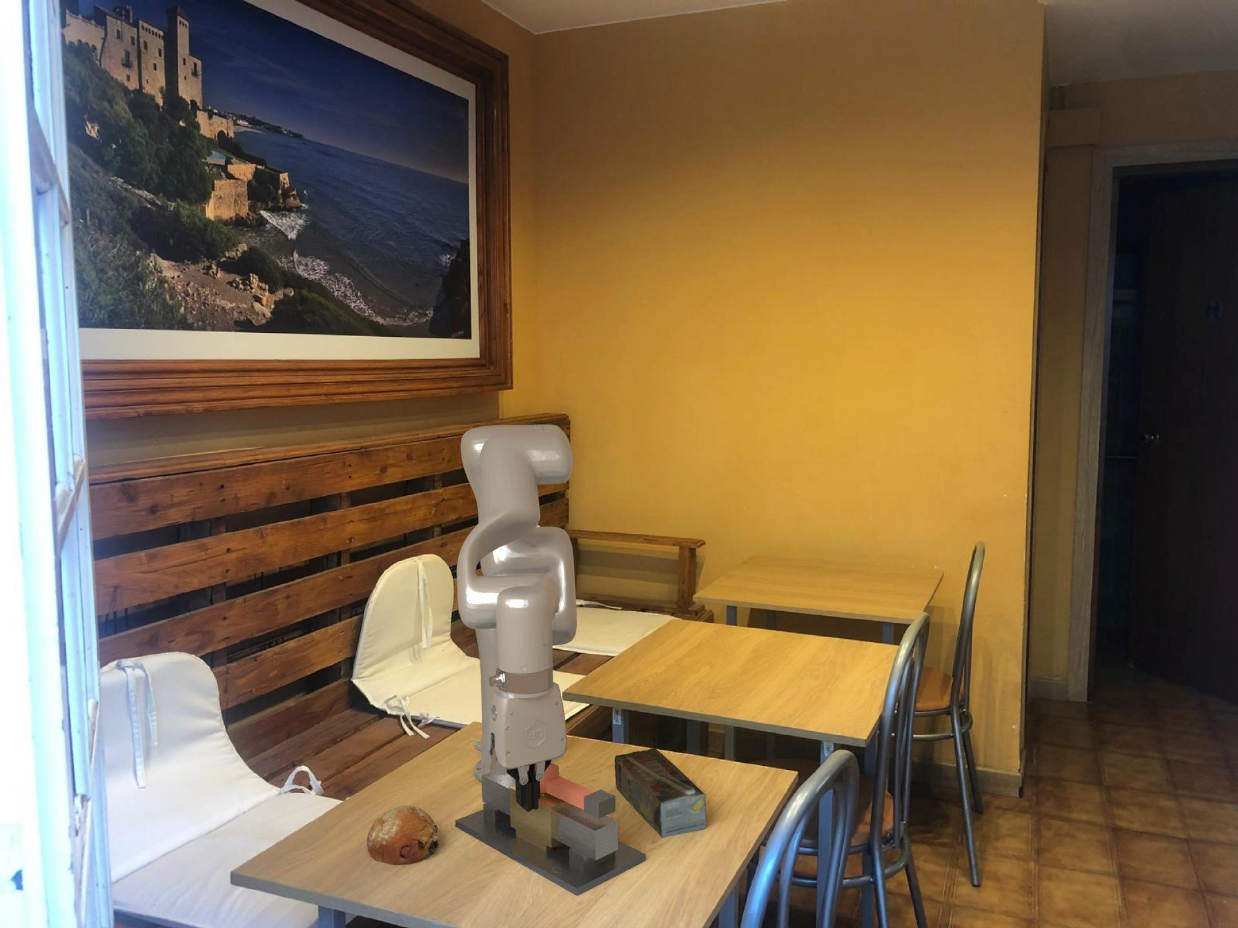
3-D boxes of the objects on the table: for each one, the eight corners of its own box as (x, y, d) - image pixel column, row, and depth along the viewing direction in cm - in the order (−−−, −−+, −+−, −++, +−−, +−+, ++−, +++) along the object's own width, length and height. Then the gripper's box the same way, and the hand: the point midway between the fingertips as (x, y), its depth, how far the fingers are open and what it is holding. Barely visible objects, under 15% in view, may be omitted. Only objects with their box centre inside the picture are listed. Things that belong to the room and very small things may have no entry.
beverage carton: (659, 840, 146) (659, 798, 146) (612, 789, 164) (612, 751, 164) (707, 830, 149) (707, 788, 149) (656, 781, 167) (656, 744, 166)
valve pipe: (455, 826, 151) (453, 772, 150) (522, 799, 160) (521, 749, 159) (576, 895, 131) (575, 834, 130) (645, 860, 140) (644, 803, 139)
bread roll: (418, 853, 151) (402, 801, 152) (458, 843, 144) (441, 790, 146) (364, 879, 143) (348, 825, 144) (404, 871, 137) (387, 814, 138)
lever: (526, 786, 145) (525, 768, 145) (547, 778, 148) (546, 760, 147) (596, 819, 134) (596, 799, 134) (617, 809, 137) (617, 790, 137)
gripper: (486, 697, 127) (490, 832, 129) (586, 675, 135) (588, 803, 137) (463, 680, 133) (466, 809, 136) (560, 660, 141) (562, 783, 143)
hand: (528, 806), depth 136 cm, fingers closed
